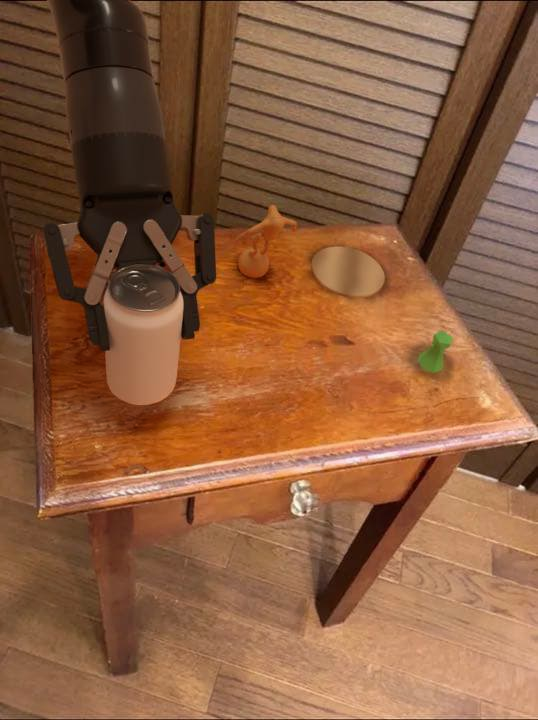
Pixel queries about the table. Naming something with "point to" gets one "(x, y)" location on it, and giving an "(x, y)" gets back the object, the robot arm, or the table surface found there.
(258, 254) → the figurine
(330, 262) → the ash disc
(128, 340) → the can
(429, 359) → the game piece
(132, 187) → the robot arm
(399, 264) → the table surface
